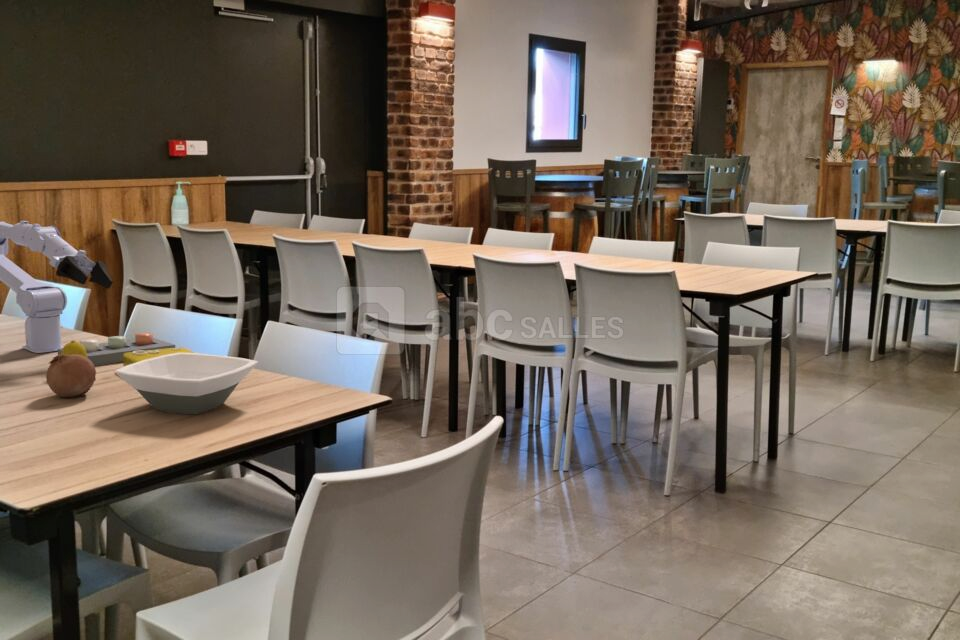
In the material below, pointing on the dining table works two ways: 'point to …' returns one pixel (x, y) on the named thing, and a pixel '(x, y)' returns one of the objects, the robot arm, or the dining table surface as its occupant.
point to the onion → (70, 375)
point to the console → (121, 351)
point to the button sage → (116, 342)
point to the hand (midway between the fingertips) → (97, 282)
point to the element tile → (150, 354)
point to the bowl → (186, 380)
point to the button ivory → (90, 345)
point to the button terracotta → (143, 339)
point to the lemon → (74, 349)
